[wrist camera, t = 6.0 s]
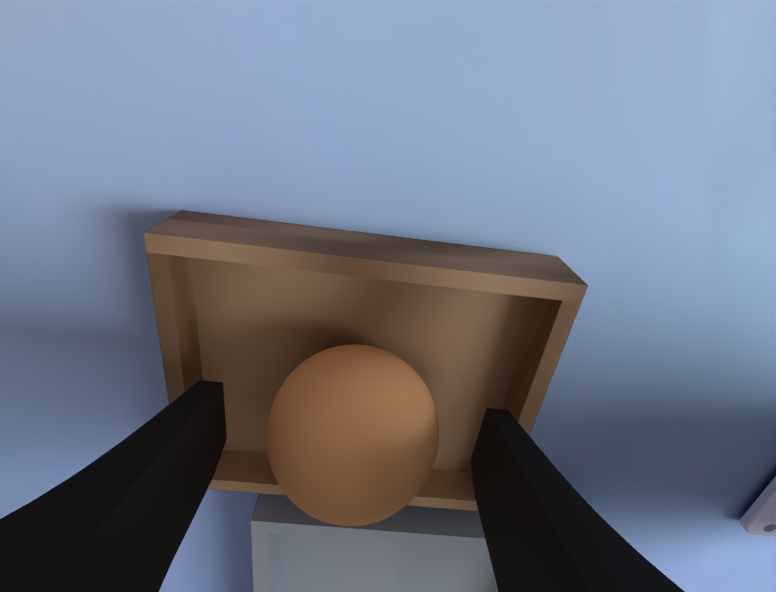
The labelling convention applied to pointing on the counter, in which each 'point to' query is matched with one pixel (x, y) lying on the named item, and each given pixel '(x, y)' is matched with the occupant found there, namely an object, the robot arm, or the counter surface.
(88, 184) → the counter surface
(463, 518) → the dish
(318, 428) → the ball
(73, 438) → the counter surface
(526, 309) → the tray
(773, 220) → the counter surface
